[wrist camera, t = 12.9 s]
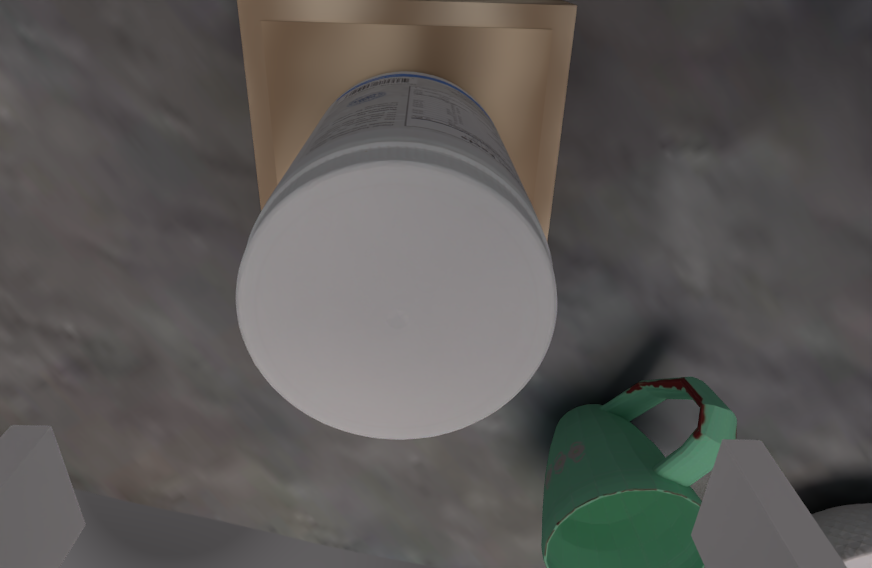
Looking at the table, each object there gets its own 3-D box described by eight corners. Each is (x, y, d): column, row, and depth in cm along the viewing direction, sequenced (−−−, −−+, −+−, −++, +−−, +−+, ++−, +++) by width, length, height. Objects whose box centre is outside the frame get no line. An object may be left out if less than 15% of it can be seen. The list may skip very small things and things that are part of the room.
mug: (607, 495, 47) (649, 621, 38) (495, 454, 44) (512, 578, 36) (731, 353, 40) (816, 464, 32) (608, 297, 38) (662, 399, 30)
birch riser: (561, 0, 30) (578, 5, 27) (530, 270, 37) (540, 300, 34) (256, -10, 30) (235, -5, 27) (283, 265, 37) (270, 295, 34)
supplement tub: (435, 283, 34) (441, 491, 21) (277, 194, 31) (172, 368, 18) (543, 136, 30) (635, 277, 17) (374, 20, 27) (329, 82, 14)
